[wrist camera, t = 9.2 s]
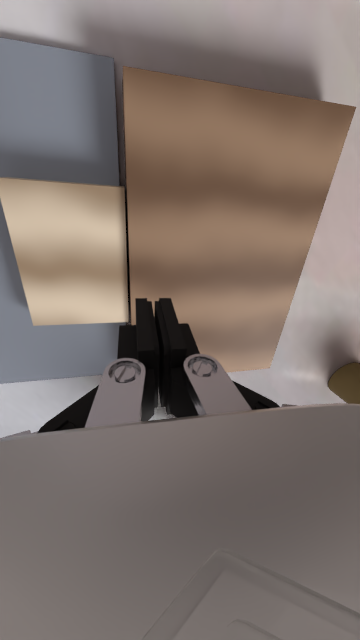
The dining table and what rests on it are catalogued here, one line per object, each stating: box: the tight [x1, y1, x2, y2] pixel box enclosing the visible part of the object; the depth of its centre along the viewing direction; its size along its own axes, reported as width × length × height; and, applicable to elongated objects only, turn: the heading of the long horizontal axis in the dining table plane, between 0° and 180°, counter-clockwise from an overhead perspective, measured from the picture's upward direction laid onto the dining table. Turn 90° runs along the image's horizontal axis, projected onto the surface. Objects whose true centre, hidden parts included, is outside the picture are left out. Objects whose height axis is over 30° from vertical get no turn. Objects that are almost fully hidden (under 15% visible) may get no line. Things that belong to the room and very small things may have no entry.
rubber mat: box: [0, 37, 126, 384], centre depth 20 cm, size 26×16×1 cm, turn 175°
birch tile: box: [0, 177, 129, 326], centre depth 20 cm, size 11×8×2 cm
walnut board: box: [122, 66, 356, 372], centre depth 23 cm, size 24×16×3 cm, turn 175°
